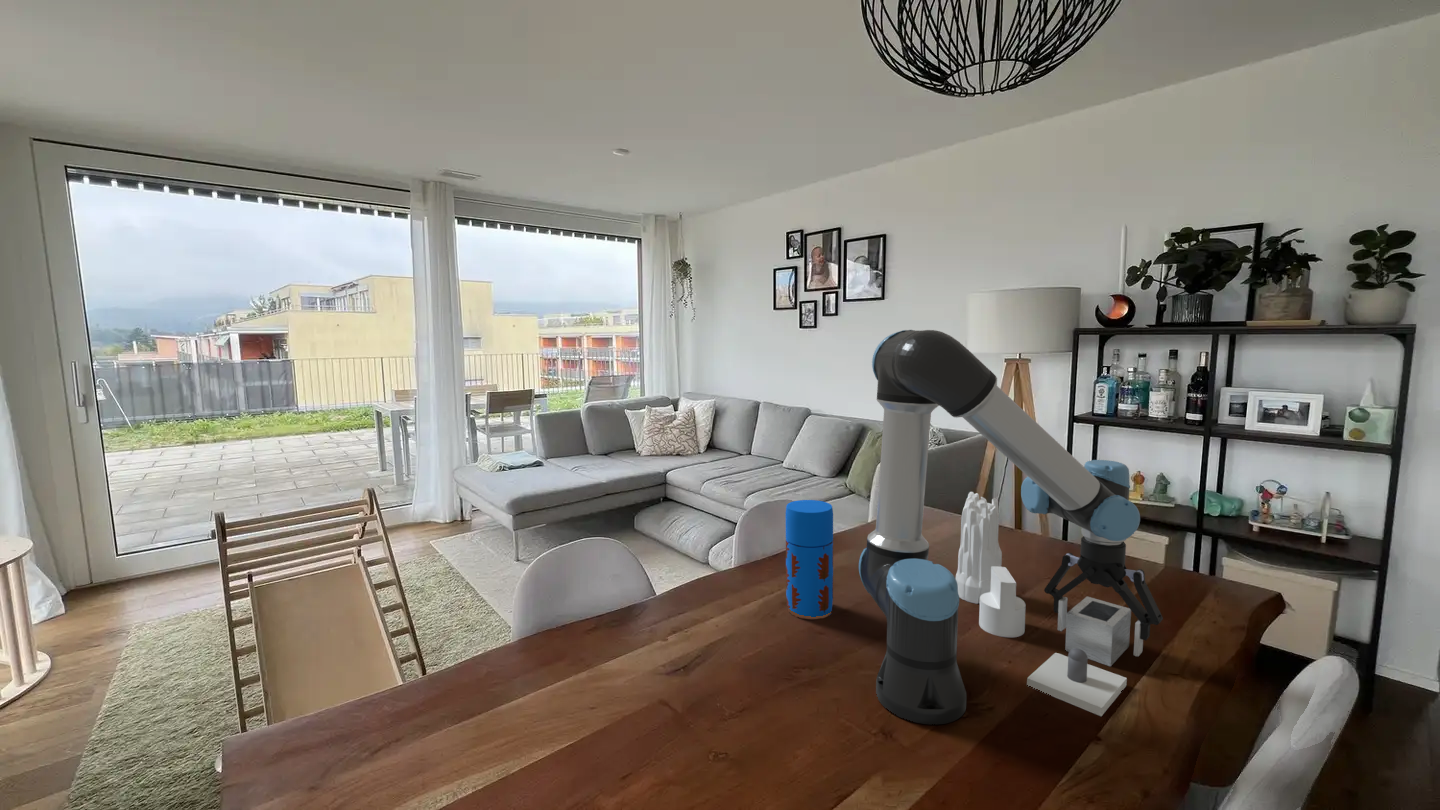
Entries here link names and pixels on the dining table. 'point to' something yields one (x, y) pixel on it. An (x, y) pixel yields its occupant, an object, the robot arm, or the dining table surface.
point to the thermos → (809, 557)
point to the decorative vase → (977, 547)
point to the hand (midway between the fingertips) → (1098, 640)
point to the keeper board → (1077, 681)
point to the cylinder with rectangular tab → (1002, 606)
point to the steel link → (1098, 630)
